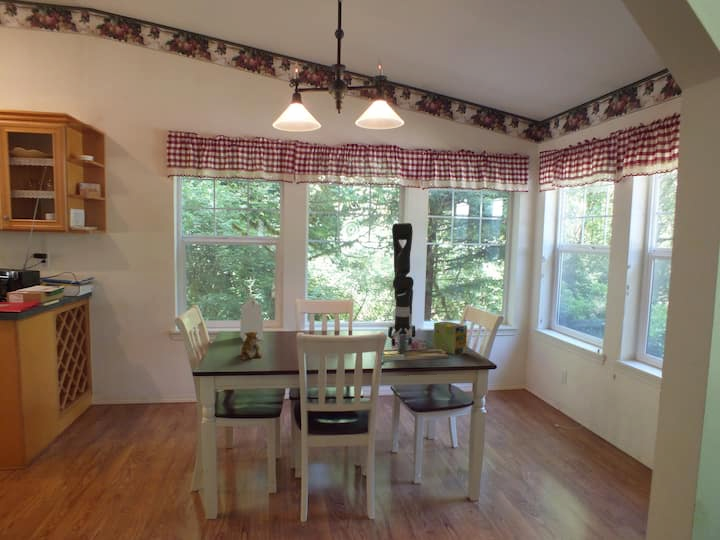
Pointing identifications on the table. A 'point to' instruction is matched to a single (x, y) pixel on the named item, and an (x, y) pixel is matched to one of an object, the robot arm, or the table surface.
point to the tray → (392, 356)
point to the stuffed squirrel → (250, 346)
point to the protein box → (450, 337)
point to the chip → (395, 352)
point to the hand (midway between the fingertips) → (401, 345)
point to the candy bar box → (413, 345)
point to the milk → (251, 319)
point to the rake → (401, 344)
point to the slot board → (425, 354)
